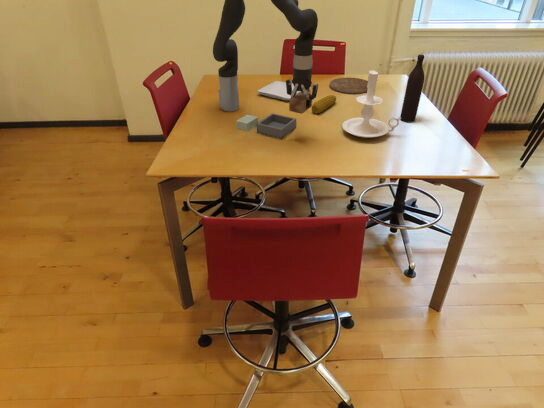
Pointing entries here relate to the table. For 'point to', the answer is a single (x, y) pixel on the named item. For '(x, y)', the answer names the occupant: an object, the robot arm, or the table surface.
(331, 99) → the food
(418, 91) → the wine bottle
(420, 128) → the table surface
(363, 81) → the trivet
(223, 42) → the robot arm
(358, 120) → the candlestick
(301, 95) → the walnut block
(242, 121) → the sage carton
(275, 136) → the tray
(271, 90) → the salad plate
